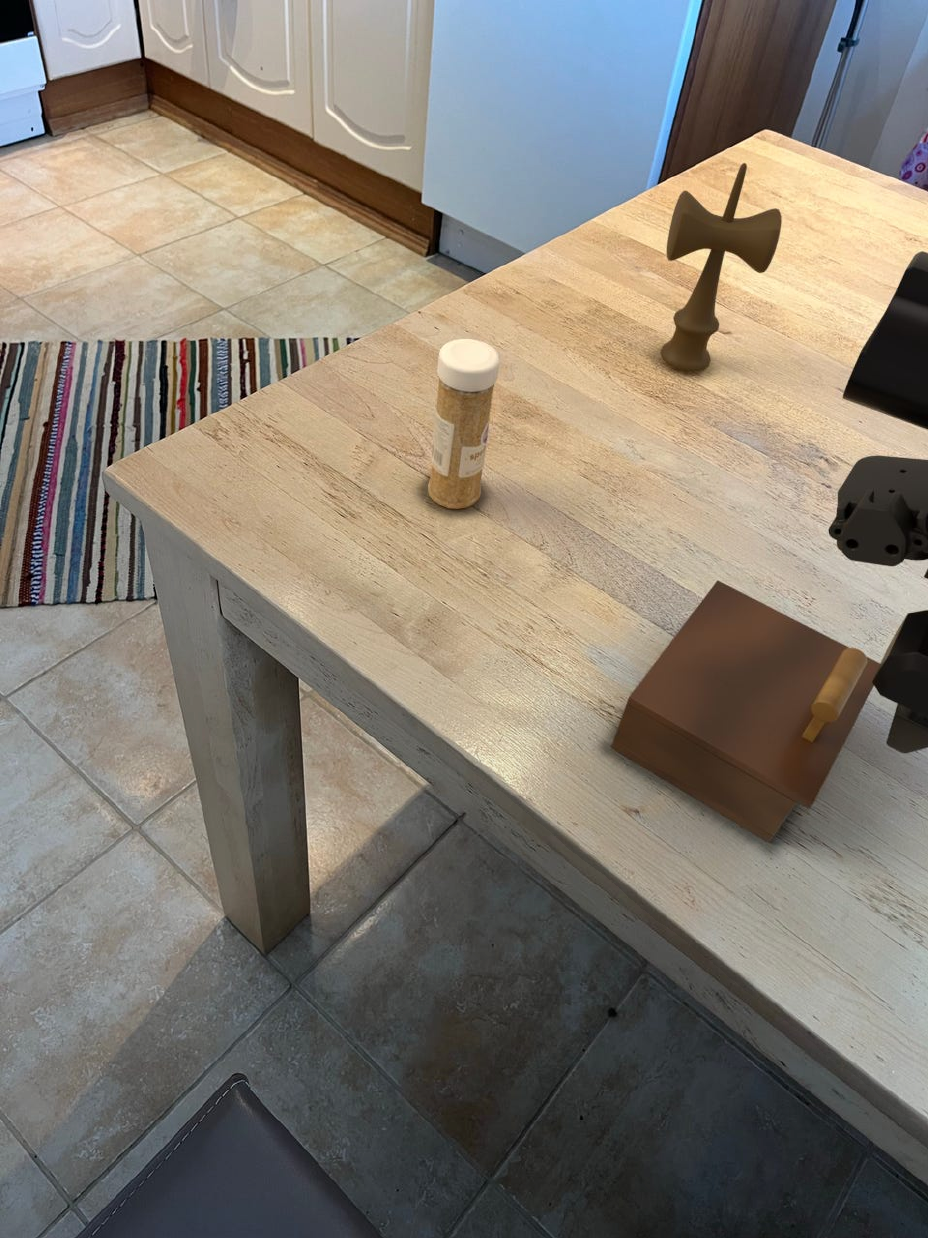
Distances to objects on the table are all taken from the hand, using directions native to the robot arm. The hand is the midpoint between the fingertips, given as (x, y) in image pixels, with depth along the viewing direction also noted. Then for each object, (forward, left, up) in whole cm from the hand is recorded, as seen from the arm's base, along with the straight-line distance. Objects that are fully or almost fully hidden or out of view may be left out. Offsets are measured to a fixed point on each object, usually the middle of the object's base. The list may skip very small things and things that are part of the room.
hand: (918, 693), depth 53 cm
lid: (+8, -3, -7) cm, 11 cm away
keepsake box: (+8, -3, -12) cm, 15 cm away
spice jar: (+35, -16, -12) cm, 40 cm away
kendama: (+23, -47, -12) cm, 54 cm away
